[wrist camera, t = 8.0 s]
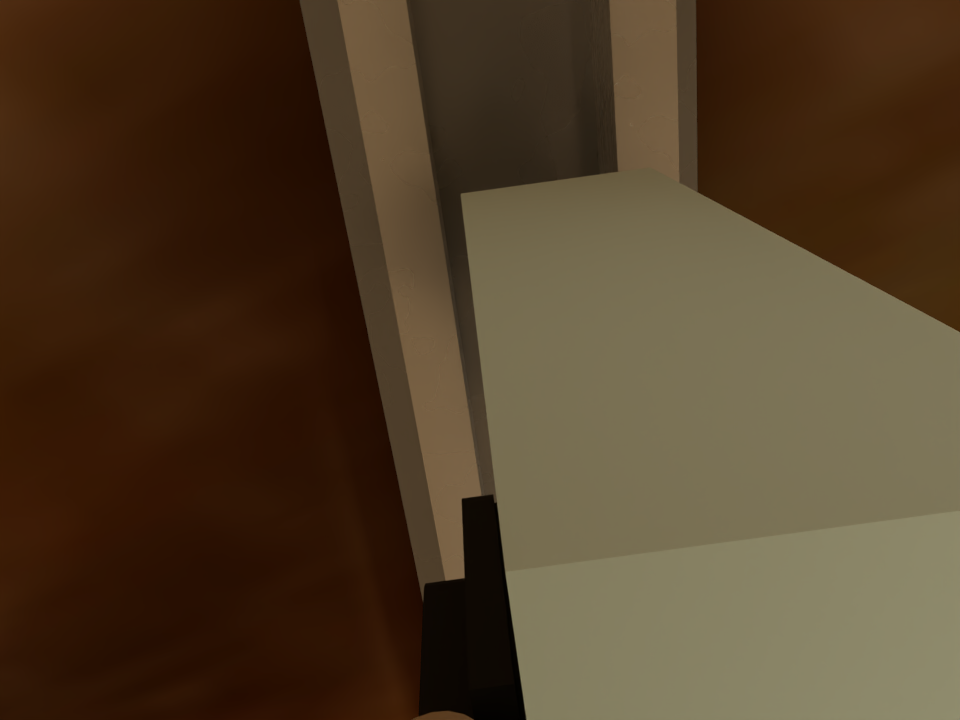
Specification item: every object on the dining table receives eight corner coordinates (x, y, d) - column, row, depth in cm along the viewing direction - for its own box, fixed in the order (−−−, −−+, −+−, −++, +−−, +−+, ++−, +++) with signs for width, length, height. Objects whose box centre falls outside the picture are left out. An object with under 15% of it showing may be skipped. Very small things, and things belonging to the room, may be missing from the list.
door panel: (460, 194, 11) (506, 571, 3) (650, 167, 11) (1228, 474, 3) (535, 735, 16) (633, 1468, 8) (669, 718, 16) (914, 1434, 8)
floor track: (253, -259, 17) (207, -333, 14) (679, -322, 17) (735, -411, 13) (443, 681, 29) (443, 761, 25) (693, 648, 29) (724, 724, 25)
